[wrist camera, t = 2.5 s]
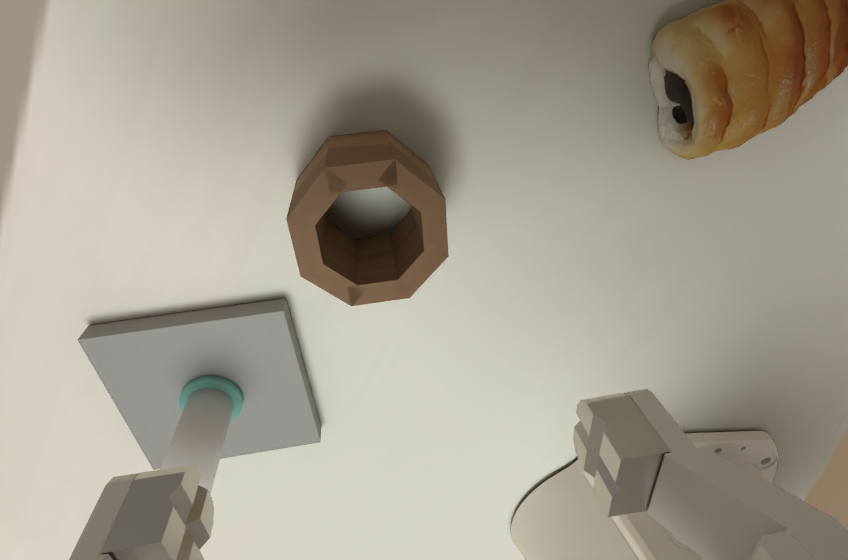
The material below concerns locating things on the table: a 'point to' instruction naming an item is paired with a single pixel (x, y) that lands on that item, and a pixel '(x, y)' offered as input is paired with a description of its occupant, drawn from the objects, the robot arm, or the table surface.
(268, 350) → the shaft stand
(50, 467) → the table surface
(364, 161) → the ring
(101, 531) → the robot arm
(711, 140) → the pastry
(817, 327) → the table surface
